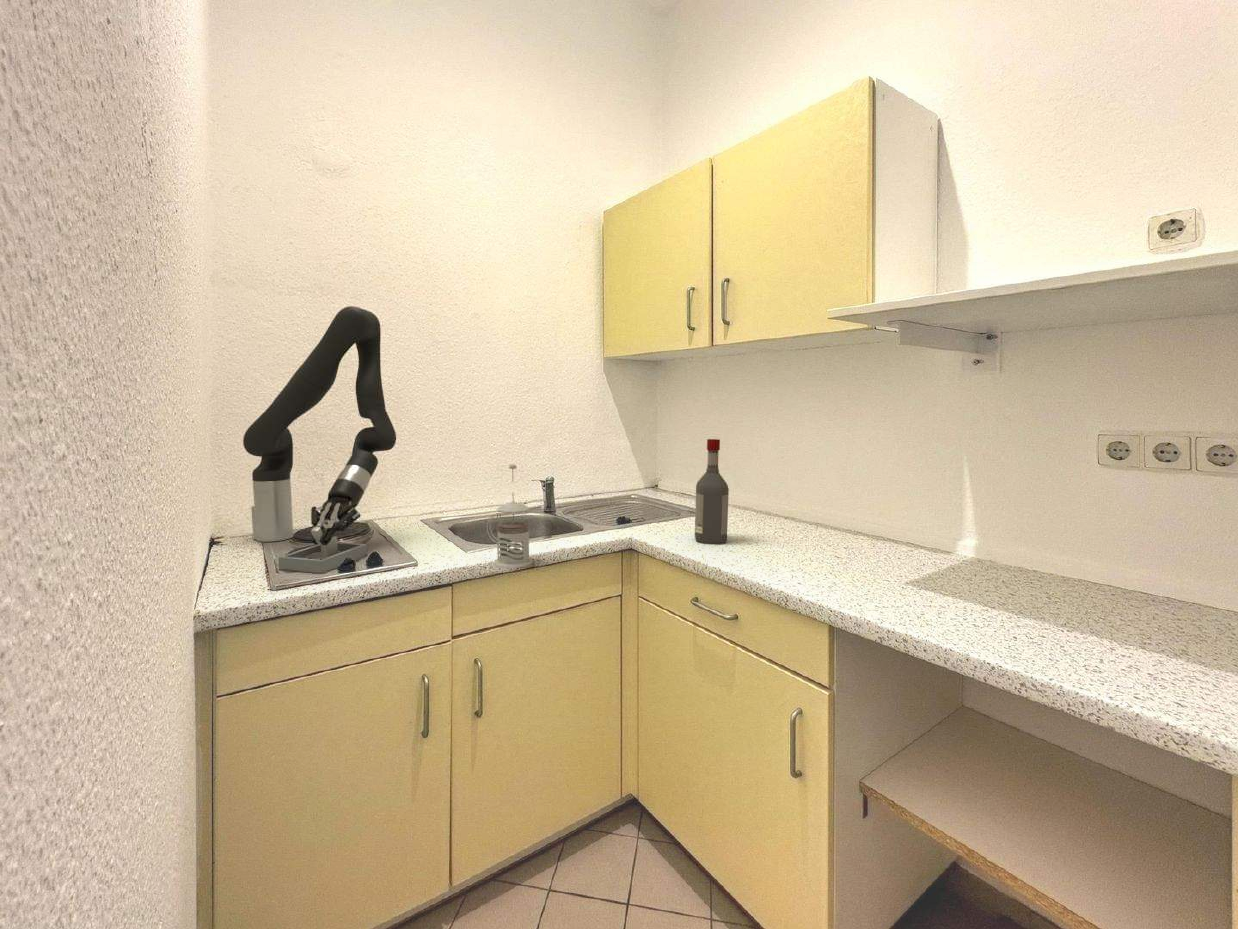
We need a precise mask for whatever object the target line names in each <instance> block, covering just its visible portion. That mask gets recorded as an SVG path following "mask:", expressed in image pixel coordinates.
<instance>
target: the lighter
mask: <svg viewBox="0 0 1238 929" xmlns="http://www.w3.org/2000/svg"><path fill="white" fill-rule="evenodd" d="M310 532H311V535H313V537H314V539H315V541H316V543H317V544H321V543H320V539H321V537H322V535H323V533H322V530H321V528H320V527H314V526H313V528H312V529H311V530H310ZM338 542H339V541H338V536H334V535H333V537H332V539H331V541H330V542H329V543H328V544H327V545H322V544H321V557H330V556H332V555H335V554H337V553H338Z"/></svg>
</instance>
